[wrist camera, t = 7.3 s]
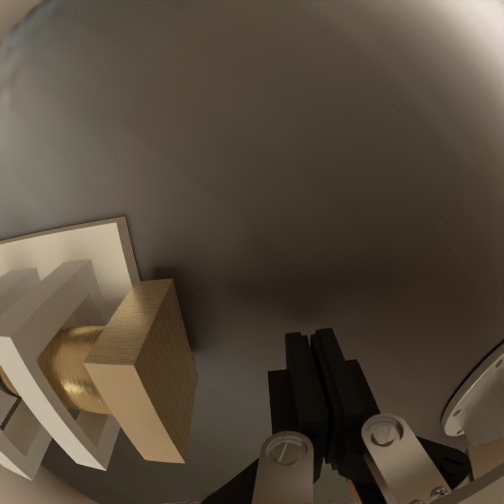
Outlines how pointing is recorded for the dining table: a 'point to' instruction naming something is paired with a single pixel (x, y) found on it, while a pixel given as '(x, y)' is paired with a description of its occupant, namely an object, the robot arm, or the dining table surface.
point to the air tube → (129, 370)
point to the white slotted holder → (48, 324)
